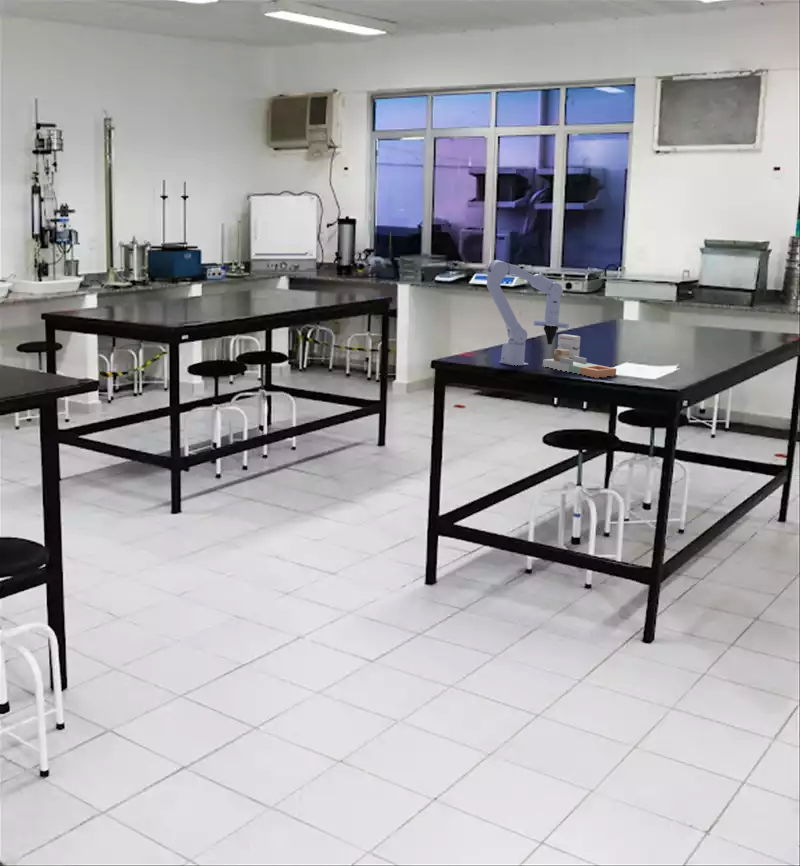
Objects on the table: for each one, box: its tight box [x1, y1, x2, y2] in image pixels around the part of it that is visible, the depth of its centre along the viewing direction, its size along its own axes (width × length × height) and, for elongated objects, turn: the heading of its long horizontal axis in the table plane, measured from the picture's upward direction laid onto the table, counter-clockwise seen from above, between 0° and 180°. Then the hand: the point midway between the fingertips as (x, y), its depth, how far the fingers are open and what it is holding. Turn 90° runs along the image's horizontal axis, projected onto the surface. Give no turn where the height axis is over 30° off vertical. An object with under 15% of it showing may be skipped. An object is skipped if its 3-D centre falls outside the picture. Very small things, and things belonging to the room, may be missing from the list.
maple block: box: [552, 348, 570, 361], centre depth 422 cm, size 4×4×4 cm
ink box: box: [556, 333, 581, 359], centre depth 437 cm, size 9×5×12 cm, turn 53°
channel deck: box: [542, 356, 617, 379], centre depth 416 cm, size 28×12×5 cm, turn 40°
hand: (549, 344), depth 427 cm, fingers closed
